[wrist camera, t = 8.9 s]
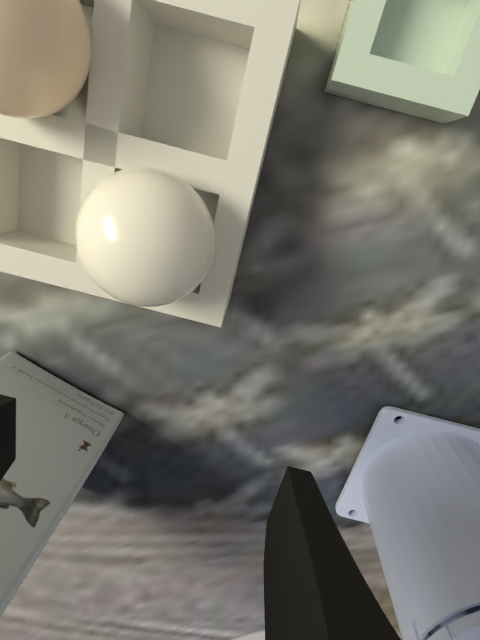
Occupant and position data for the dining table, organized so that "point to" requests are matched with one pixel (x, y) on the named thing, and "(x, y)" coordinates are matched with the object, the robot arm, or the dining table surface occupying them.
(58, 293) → the dining table surface
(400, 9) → the mint square frame
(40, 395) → the supplement box
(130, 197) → the cream egg
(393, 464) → the robot arm
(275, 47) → the carton
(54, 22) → the brown egg
